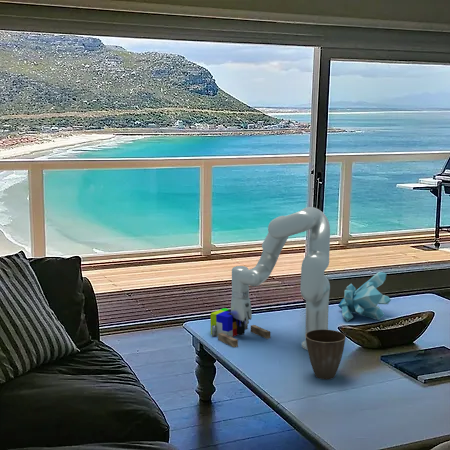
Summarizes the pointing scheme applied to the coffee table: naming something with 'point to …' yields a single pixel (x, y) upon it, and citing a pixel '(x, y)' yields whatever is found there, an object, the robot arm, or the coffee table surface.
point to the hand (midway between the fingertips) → (240, 333)
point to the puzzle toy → (224, 322)
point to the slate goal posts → (215, 330)
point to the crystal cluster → (364, 299)
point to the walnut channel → (234, 342)
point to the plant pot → (325, 352)
